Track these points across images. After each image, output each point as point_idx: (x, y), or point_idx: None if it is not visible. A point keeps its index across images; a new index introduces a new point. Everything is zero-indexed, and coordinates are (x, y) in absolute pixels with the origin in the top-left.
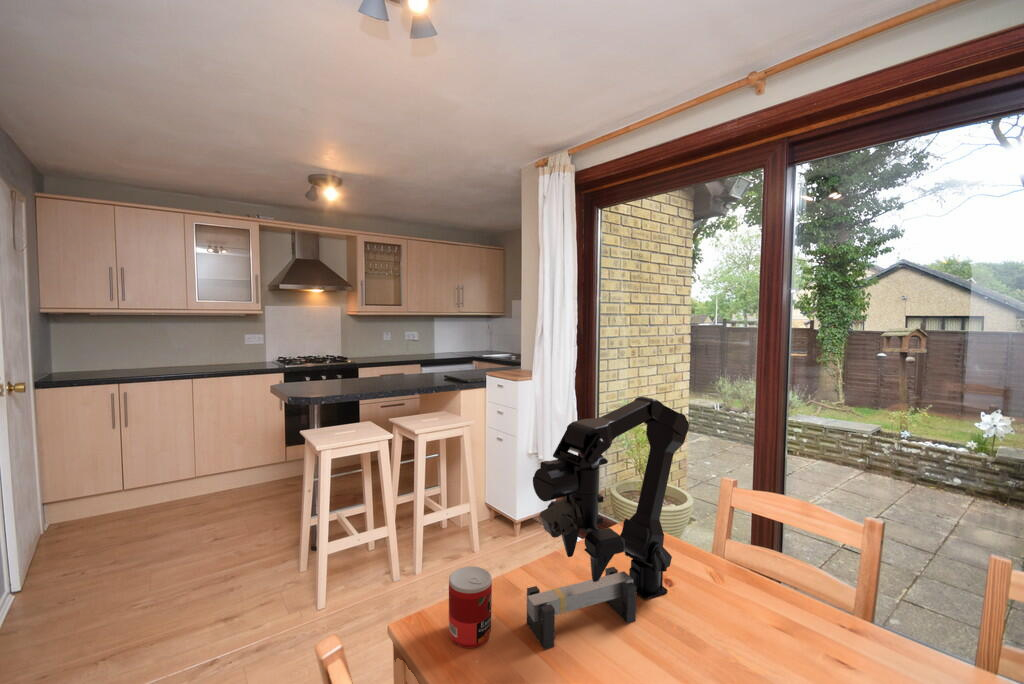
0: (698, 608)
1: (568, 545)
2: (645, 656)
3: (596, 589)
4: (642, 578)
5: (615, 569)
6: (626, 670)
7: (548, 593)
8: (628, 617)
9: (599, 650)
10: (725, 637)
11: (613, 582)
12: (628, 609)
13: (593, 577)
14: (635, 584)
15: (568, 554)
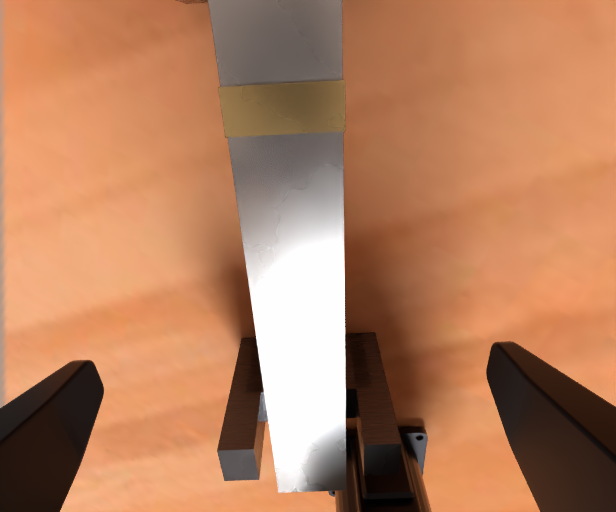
0: (247, 508)
1: (559, 438)
2: (86, 311)
3: (256, 337)
4: (355, 491)
5: (374, 471)
6: (27, 227)
7: (305, 19)
8: (239, 356)
9: (133, 189)
10: (133, 498)
11: (282, 424)
12: (234, 378)
13: (33, 388)
14: None
15: (505, 360)
